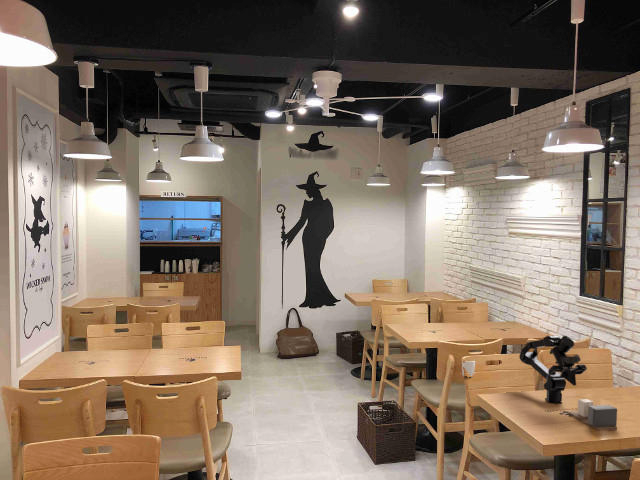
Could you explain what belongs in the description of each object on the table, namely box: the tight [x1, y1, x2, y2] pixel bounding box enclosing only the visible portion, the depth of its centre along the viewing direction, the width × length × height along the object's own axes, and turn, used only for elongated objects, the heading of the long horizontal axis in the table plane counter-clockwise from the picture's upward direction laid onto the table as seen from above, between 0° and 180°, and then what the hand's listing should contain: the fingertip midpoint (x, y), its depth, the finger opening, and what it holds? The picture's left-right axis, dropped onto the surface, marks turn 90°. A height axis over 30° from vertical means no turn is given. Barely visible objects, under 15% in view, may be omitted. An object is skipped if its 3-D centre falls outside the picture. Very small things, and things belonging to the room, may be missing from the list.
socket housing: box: [588, 404, 618, 427], centre depth 235 cm, size 5×11×8 cm, turn 102°
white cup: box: [461, 360, 476, 377], centre depth 310 cm, size 8×8×10 cm
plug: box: [577, 398, 594, 417], centre depth 244 cm, size 6×5×7 cm
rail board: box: [566, 410, 618, 431], centre depth 241 cm, size 20×10×1 cm, turn 12°
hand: (575, 385), depth 253 cm, fingers closed
